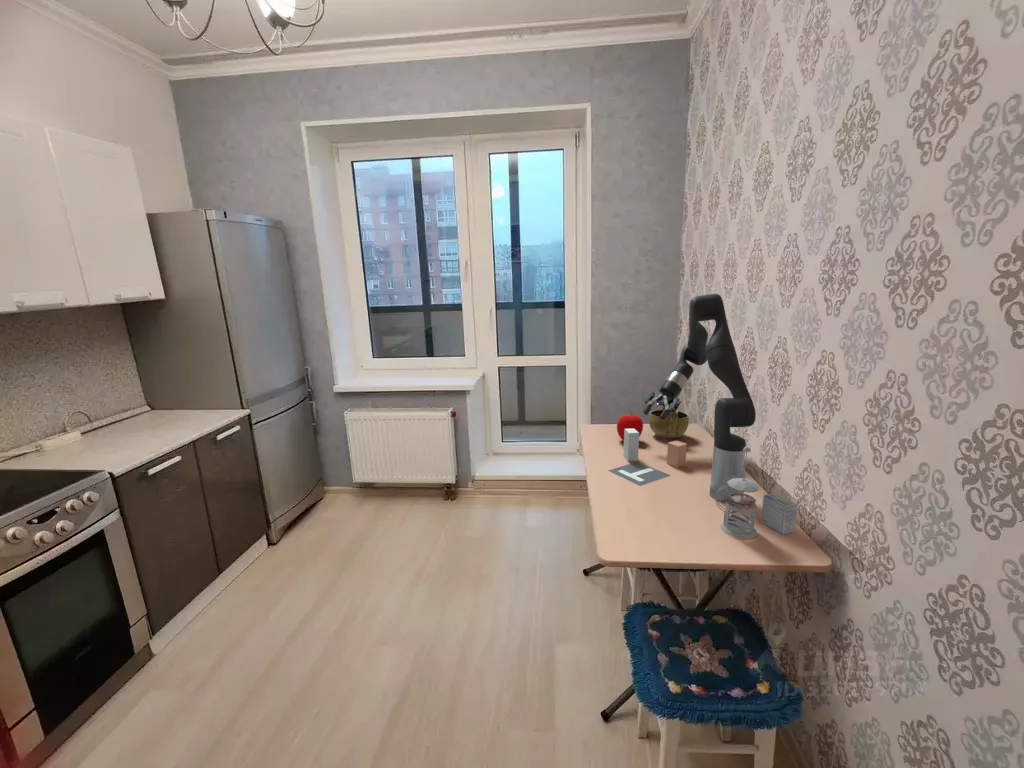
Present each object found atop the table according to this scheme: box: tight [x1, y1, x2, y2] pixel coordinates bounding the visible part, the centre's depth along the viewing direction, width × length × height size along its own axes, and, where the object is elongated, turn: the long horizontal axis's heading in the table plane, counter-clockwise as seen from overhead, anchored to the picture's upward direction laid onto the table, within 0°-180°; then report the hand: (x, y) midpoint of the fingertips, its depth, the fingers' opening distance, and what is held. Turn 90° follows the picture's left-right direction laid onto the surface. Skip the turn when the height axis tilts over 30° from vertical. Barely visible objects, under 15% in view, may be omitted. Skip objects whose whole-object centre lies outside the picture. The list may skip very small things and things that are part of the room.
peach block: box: [666, 440, 688, 469], centre depth 178 cm, size 5×5×9 cm
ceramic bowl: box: [648, 406, 690, 440], centre depth 210 cm, size 22×17×15 cm
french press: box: [714, 446, 760, 540], centre depth 131 cm, size 10×12×25 cm
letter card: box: [607, 461, 672, 487], centre depth 172 cm, size 16×16×1 cm
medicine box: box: [760, 492, 798, 535], centre depth 134 cm, size 8×4×9 cm, turn 17°
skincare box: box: [622, 428, 640, 462], centre depth 185 cm, size 6×4×12 cm
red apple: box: [616, 413, 644, 442], centre depth 205 cm, size 11×11×13 cm
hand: (652, 416), depth 188 cm, fingers open, 8 cm apart
